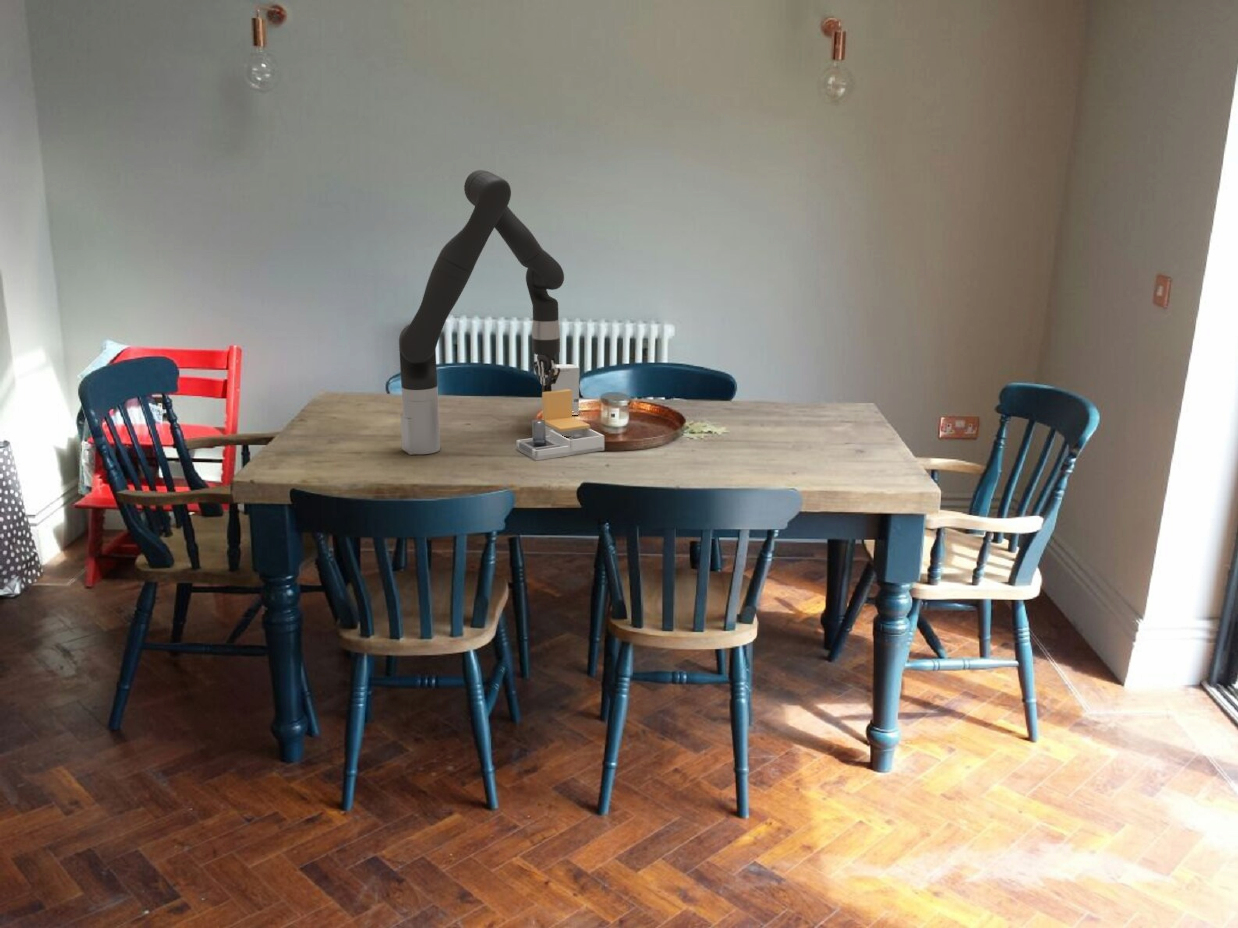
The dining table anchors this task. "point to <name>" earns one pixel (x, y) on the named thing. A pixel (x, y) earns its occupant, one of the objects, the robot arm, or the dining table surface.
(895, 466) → the dining table surface
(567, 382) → the skincare box
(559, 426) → the orange l-shaped block
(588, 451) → the box
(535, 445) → the pin
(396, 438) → the dining table surface
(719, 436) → the dining table surface
